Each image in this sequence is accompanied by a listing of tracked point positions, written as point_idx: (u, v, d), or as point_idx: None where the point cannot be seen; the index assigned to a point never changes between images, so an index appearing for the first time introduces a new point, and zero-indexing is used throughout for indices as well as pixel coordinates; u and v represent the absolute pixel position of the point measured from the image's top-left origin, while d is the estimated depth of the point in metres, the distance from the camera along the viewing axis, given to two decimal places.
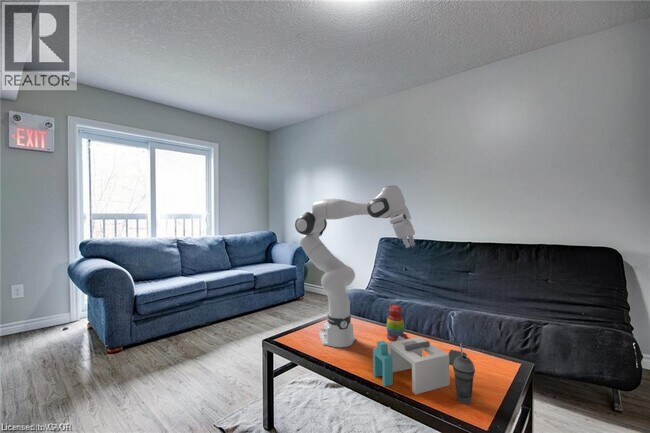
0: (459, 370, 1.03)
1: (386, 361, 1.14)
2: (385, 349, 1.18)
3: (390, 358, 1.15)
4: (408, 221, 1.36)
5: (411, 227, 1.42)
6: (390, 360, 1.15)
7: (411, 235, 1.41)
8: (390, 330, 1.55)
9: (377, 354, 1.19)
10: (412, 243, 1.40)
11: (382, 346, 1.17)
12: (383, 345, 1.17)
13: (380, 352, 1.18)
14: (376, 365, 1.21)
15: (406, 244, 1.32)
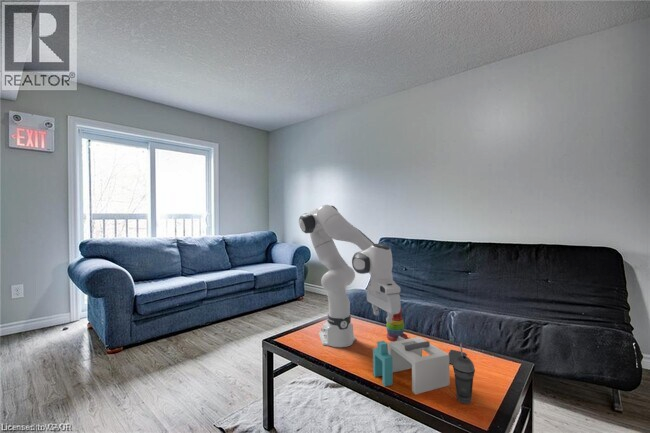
0: (459, 370, 1.03)
1: (386, 361, 1.14)
2: (385, 349, 1.18)
3: (390, 358, 1.15)
4: None
5: None
6: (390, 360, 1.15)
7: None
8: (390, 330, 1.55)
9: (377, 354, 1.19)
10: (377, 312, 1.23)
11: (382, 346, 1.17)
12: (383, 345, 1.17)
13: (380, 352, 1.18)
14: (376, 365, 1.21)
15: (389, 319, 1.14)
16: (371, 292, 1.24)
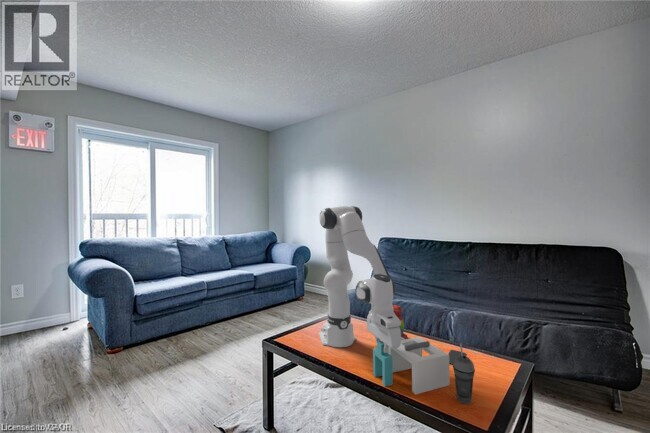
0: (459, 370, 1.03)
1: (386, 361, 1.14)
2: None
3: (390, 358, 1.15)
4: None
5: None
6: (390, 360, 1.15)
7: None
8: None
9: (377, 354, 1.19)
10: None
11: (382, 346, 1.17)
12: (383, 345, 1.17)
13: (380, 352, 1.18)
14: (376, 365, 1.21)
15: (386, 349, 1.16)
16: (371, 322, 1.24)
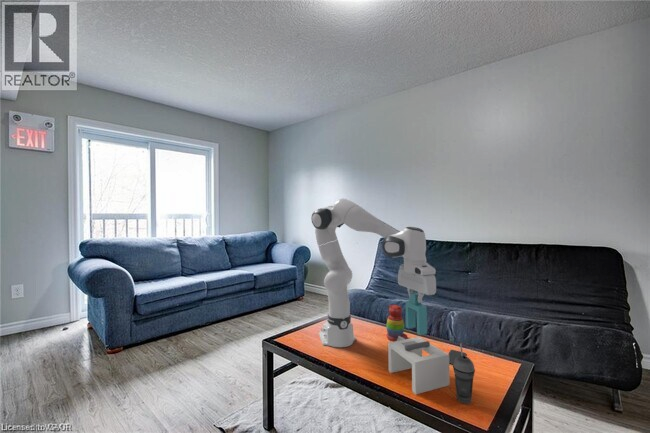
0: (459, 370, 1.03)
1: (421, 310, 1.15)
2: None
3: (424, 307, 1.16)
4: None
5: None
6: (424, 309, 1.16)
7: None
8: (390, 330, 1.55)
9: (410, 305, 1.20)
10: None
11: (416, 296, 1.18)
12: (417, 295, 1.18)
13: (414, 302, 1.19)
14: (409, 317, 1.22)
15: (420, 299, 1.17)
16: (403, 275, 1.25)
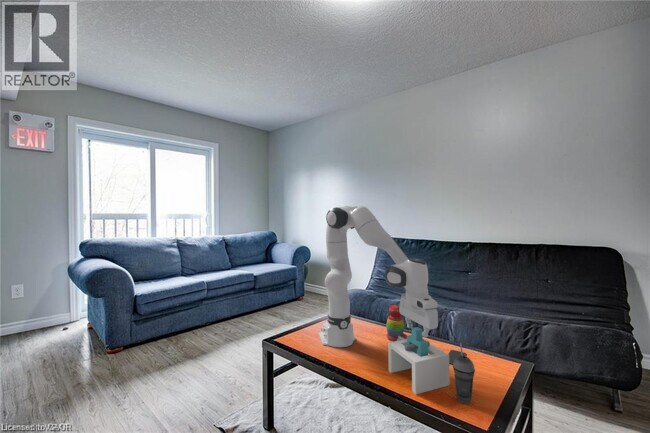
0: (459, 370, 1.03)
1: (422, 346, 1.16)
2: (420, 335, 1.19)
3: (426, 343, 1.16)
4: None
5: None
6: (426, 345, 1.16)
7: None
8: (390, 330, 1.55)
9: (412, 340, 1.20)
10: (411, 326, 1.24)
11: (417, 332, 1.19)
12: (418, 331, 1.19)
13: (415, 338, 1.19)
14: None
15: (425, 333, 1.15)
16: (405, 305, 1.25)
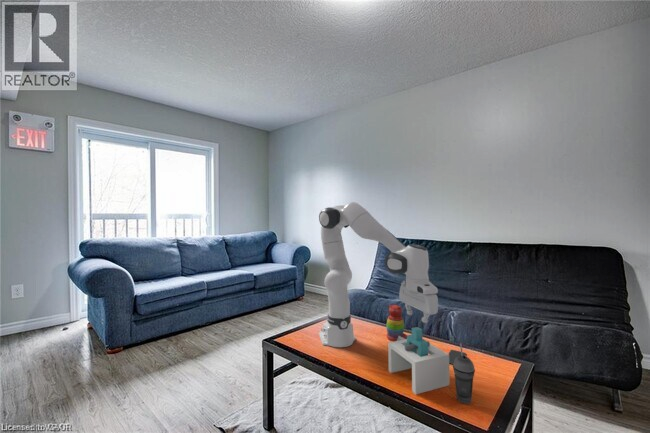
0: (459, 370, 1.03)
1: (422, 346, 1.16)
2: (420, 335, 1.19)
3: (426, 343, 1.16)
4: None
5: None
6: (426, 345, 1.16)
7: None
8: (390, 330, 1.55)
9: (412, 340, 1.20)
10: (411, 312, 1.24)
11: (417, 332, 1.19)
12: (418, 331, 1.19)
13: (415, 338, 1.19)
14: None
15: (425, 319, 1.15)
16: (405, 292, 1.25)
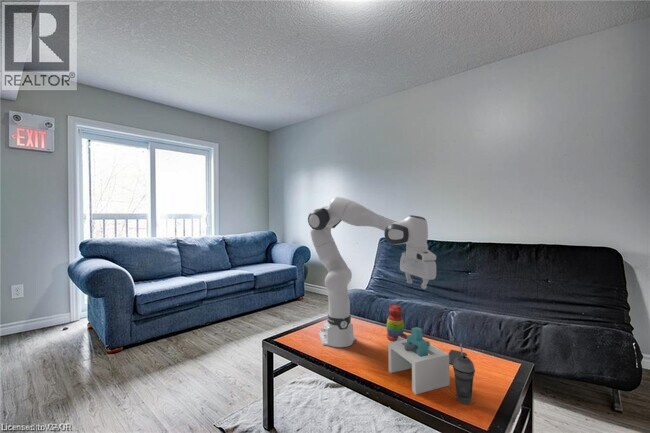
0: (459, 370, 1.03)
1: (422, 346, 1.16)
2: (420, 335, 1.19)
3: (426, 343, 1.16)
4: None
5: None
6: (426, 345, 1.16)
7: None
8: (390, 330, 1.55)
9: (412, 340, 1.20)
10: (411, 281, 1.30)
11: (417, 332, 1.19)
12: (418, 331, 1.19)
13: (415, 338, 1.19)
14: None
15: (424, 285, 1.21)
16: (405, 261, 1.31)
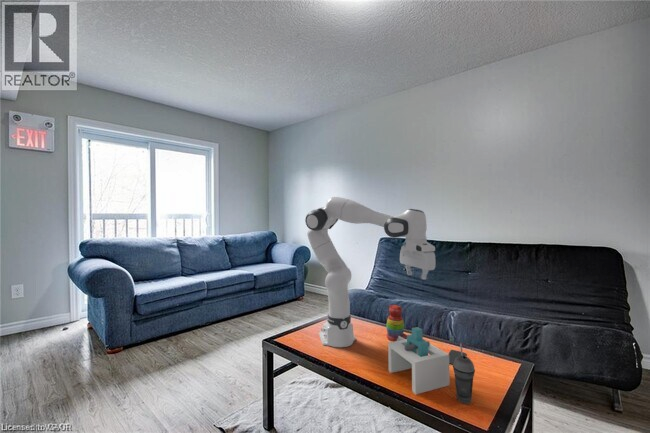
0: (459, 370, 1.03)
1: (422, 346, 1.16)
2: (420, 335, 1.19)
3: (426, 343, 1.16)
4: None
5: None
6: (426, 345, 1.16)
7: None
8: (390, 330, 1.55)
9: (412, 340, 1.20)
10: (411, 272, 1.34)
11: (417, 332, 1.18)
12: (418, 331, 1.19)
13: (415, 338, 1.19)
14: None
15: (424, 276, 1.24)
16: (405, 254, 1.34)
